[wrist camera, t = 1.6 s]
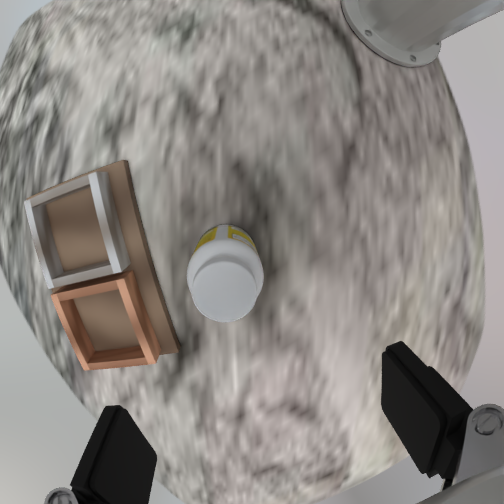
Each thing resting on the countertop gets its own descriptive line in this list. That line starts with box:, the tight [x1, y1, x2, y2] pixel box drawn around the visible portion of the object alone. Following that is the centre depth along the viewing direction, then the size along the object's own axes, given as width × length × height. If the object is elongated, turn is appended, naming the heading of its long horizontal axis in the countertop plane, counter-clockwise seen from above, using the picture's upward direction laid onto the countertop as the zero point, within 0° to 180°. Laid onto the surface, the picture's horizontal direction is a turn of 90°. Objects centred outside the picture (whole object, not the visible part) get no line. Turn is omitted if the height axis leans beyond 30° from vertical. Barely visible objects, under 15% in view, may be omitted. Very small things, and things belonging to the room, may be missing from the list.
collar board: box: [24, 160, 180, 370], centre depth 25 cm, size 19×12×4 cm, turn 12°
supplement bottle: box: [187, 225, 264, 322], centre depth 22 cm, size 5×5×10 cm
